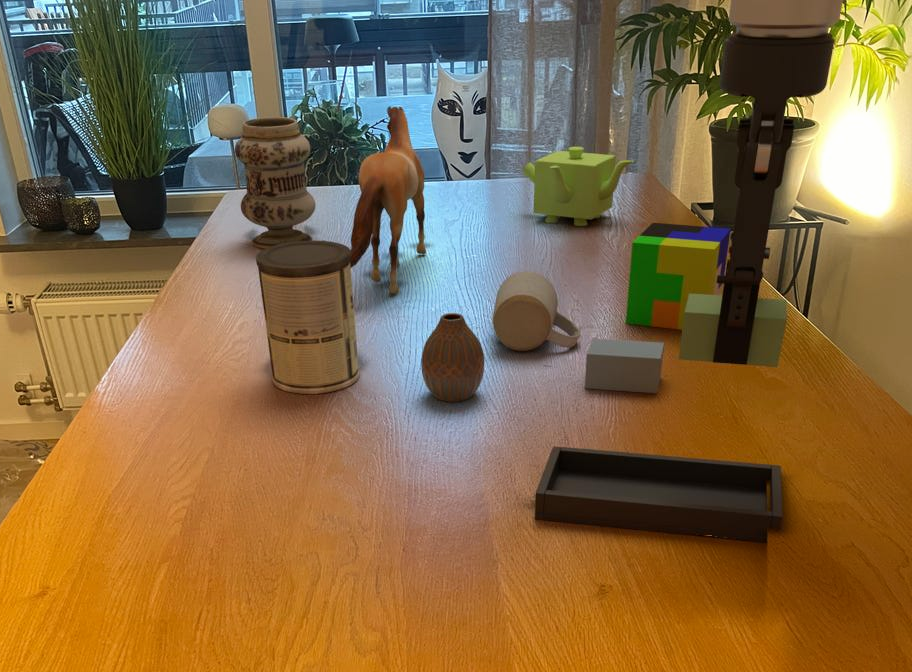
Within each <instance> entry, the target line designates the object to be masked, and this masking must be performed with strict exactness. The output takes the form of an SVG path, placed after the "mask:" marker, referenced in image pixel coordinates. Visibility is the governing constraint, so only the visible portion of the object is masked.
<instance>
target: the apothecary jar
mask: <svg viewBox="0 0 912 672" xmlns="http://www.w3.org/2000/svg"><path fill="white" fill-rule="evenodd" d="M310 153H311V145H310V142H309V140H308V139H307V138H306V136H304V135H303V134H302V133H301V132H300V129H299V123H298V120H296V119H295V118H292V117H283V116H263V117H255V118H251V119H247V120H245V121H243V122H242V133H241V137H240V138H239V139H238V140H237V142H236V143H235V146H234V154H235V157H236V158H237V160H238V161H239V162H240V163H242V164H243V167H244V171H245V182H246V193H245V195H244V196H243V197H242V199H241V201H240V211H241V214H242V215H243V217H245V218H246V219H247V220H248V221H249V222H250V223H252V224H254V225H256V226H260V227H264V228H266V229H267V230H265V231H263V232H261V233H260V234H258V235H256V236H255V237H253V239H252V241H251V244H252V246H253V247H255V248H257V249H262V250H264V249H266V248H268V247H271V246H275V245H278V244H282V243H289V242H296V241H313V238H312V236H311V235H309V234H308V233H305V232H303V231H302V230H299V229H295V228H294V226H297V225H299V224H300V225H301V224H302V223H304V222H306V221H307V220H308V219H310V218H311V217H312V216H313V214H314V213H315V211H316V206H317V205H316V199H315V198H314V196H313V195H312V194H311V192H309V191H308V189H307V181H306V172H305V171H306V169H305V160H307V159H308V158H309V156H310Z"/></svg>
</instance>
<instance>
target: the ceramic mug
mask: <svg viewBox="0 0 912 672" xmlns="http://www.w3.org/2000/svg"><path fill="white" fill-rule="evenodd" d="M558 301H559V300H558V294H557V291H556V289H555V287H554V285H553V284H552V283H551V281H550V280H549V279H548V278H547V277H545V276H544V275H542V274H540V273H538V272H536V271H531V270H522V271H517V272H514V273H513V274H510V275H509V276H508V277H506V278H505V279H504V280H503V282H502V283H501V285H500V286H499V288H498V290H497V292H496V299H495V301H494V309H493V312H492V325H493V330H494V333H495V335H496V337H497V339H498V340H499V341H500V342H501V344H503V345H504V346H505V347H507V348H508V349H510V350H513V351H519V352H528V351H532V350H534V349H536V348H538V347H539V346H541V345H542V344H543V343H544V342H545V341H547V342H550V343H551V344H554V345H556V346H558V347H562V348H573V347H574V346H576V344H577V342H578V340H579V339H580V337H581V330H580V328H579V327H578V326H577V325H576V323H574V321H572V320H571V319H569V318H568V317H567V316H565V315H564V314H562V313H560V312H558V306H559V302H558ZM553 326H555V327H557V328H559V329H560V330H562V331H563V332H564V333H563V332H559V331H557V330H556V329H555V330H554V329H553ZM565 333H566V334H565Z"/></svg>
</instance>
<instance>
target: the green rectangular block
mask: <svg viewBox="0 0 912 672" xmlns="http://www.w3.org/2000/svg"><path fill="white" fill-rule="evenodd" d="M721 302H722V295H721V296H720V295H705V294H689V296H688V300H687V304H686V309H685V314H684V322H683V329H682V330H681V336H680V337H681V338H680V345H679V353H678V360H682V361H683V360H684V361H695V362H707V363H708V362H709V363H714V362H713V357H714V350H715V344H716V337H717V330H718V323H719V316H720V309H721ZM787 313H788V312H787V299H779V298H778V299H776V298H764V297H763V298H762V297H758V299H757V305H756V311H755V317H754V323H753V329H752V335H751V341H750V347H749V353H748V359H747V365H746V366H757V367H767V368H769V367H770V368H778V366H779V361H780V356H781V352H782V346H783V341H784V337H785V332H786V331H785V330H786V326H787V321H788V317H787V316H788V314H787Z"/></svg>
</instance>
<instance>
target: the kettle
mask: <svg viewBox="0 0 912 672" xmlns="http://www.w3.org/2000/svg"><path fill="white" fill-rule="evenodd" d="M567 149H568V150H567V151H565V150H557V151H555V152H552V153H551V154H547V155H545V156H543V157H541V158H539V159H537V160H534V164H533V163H532V162H531V161H530V162H528V163H527V164H526V165H525V166H524V167H523V169H522V171H521V173H522V174H523V175H524V176H525V177H526V178H527V179H529V181H531V182H532V184H533V210H532V211H533V212H532V213H533V214H539V215H546V218H545V220H544V222H545V223H551V224H553V223H557V222H558V221H559V219H560V217H563V218H564V217H566V218H573V225H574V226H576V227H584V226H588V221H587V220H593V219H599V218H601V214H603V213H605V212H606V211H609V210H610V209H612V208H613V201H614V193H615V191H616V190H617V188H618V185H619V182H620V179H621V175H622V174H623V171H624V169H625V168H627V166H628V165H630V164H632V163H635V160H630V159H625V160H620V161H618V162H617V161H616V160H617V156H616V155H614V154H603V153H590V152H584V151H585V148H584V147H582V146H571V147H568V148H567ZM616 162H617V163H616Z"/></svg>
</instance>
